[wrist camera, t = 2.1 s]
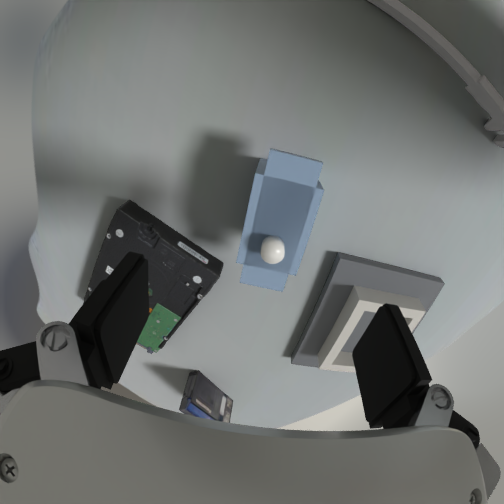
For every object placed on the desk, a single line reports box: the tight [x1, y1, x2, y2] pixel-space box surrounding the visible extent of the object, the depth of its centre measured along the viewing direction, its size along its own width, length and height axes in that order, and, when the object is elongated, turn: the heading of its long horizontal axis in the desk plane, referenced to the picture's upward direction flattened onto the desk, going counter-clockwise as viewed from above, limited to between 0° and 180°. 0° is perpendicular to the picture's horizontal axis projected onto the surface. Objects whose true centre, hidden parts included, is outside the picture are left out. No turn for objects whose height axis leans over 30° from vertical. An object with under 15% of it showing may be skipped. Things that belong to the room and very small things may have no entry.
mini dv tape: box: [179, 371, 233, 423], centre depth 32 cm, size 8×2×6 cm, turn 30°
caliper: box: [368, 0, 504, 148], centre depth 10 cm, size 20×1×6 cm, turn 56°
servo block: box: [236, 148, 324, 292], centre depth 18 cm, size 4×9×6 cm, turn 169°
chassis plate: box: [291, 252, 444, 373], centre depth 25 cm, size 12×14×3 cm
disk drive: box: [83, 200, 223, 354], centre depth 25 cm, size 10×3×15 cm
